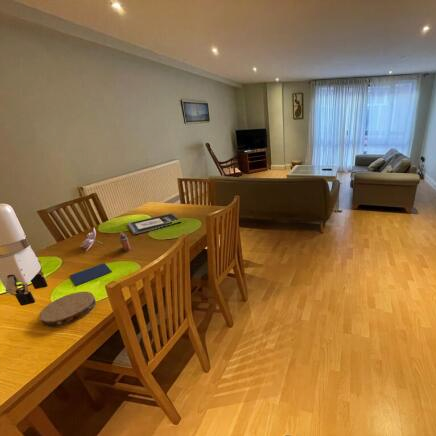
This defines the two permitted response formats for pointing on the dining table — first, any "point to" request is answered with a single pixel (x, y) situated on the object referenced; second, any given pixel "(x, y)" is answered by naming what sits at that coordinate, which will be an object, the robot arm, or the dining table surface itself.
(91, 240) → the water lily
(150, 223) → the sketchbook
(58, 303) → the brown round disc
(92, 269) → the cloth
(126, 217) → the dining table surface
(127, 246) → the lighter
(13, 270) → the robot arm
